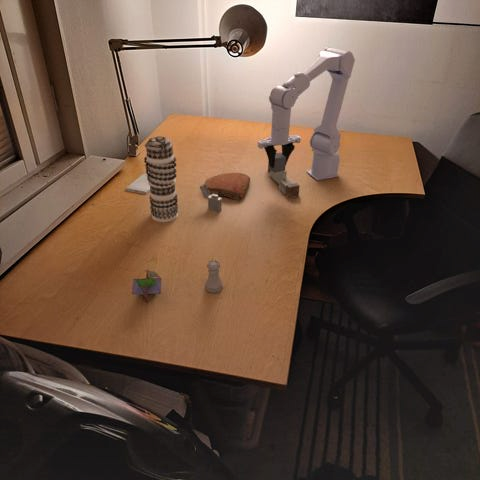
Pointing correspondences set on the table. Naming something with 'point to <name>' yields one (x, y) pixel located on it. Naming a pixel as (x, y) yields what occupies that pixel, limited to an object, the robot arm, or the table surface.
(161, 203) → the decorative candle
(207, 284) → the rook chess piece
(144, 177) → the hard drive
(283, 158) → the grey block
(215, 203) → the lighter
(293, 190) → the door frame
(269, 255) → the table surface
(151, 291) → the geometric puzzle
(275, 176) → the cream bar
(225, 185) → the ceramic shard
